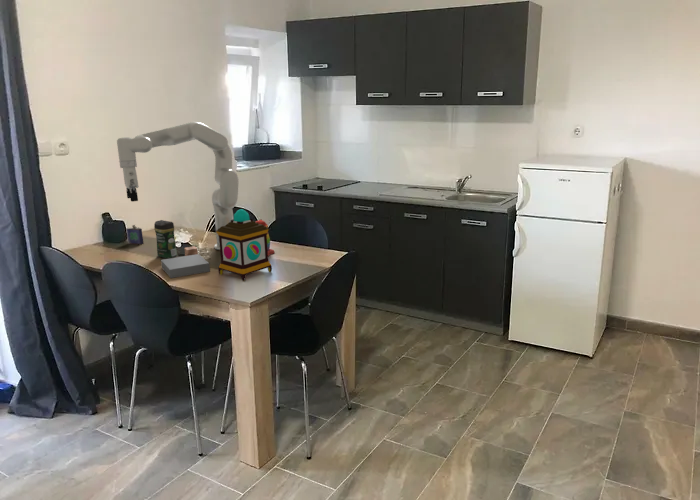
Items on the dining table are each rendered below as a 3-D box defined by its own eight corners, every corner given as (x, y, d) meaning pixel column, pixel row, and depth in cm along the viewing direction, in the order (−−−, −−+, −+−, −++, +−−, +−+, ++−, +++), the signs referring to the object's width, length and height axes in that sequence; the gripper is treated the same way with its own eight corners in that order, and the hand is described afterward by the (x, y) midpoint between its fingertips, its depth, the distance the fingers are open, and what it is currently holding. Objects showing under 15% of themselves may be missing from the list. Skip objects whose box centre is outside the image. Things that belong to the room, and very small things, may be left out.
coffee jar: (154, 256, 295) (150, 221, 290) (167, 253, 302) (163, 218, 297) (167, 259, 290) (163, 223, 285) (179, 255, 296) (176, 220, 291)
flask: (127, 244, 321) (124, 225, 318) (130, 242, 324) (128, 224, 321) (142, 244, 319) (139, 225, 316) (145, 243, 321) (142, 224, 318)
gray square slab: (199, 261, 285) (198, 254, 284) (210, 271, 270) (209, 263, 269) (161, 268, 277) (160, 259, 276) (170, 278, 262) (169, 269, 261)
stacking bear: (266, 258, 289) (264, 223, 284) (248, 256, 292) (245, 222, 288) (276, 252, 299) (274, 218, 294) (258, 250, 302) (256, 217, 297)
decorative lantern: (247, 264, 280) (243, 203, 272) (276, 271, 268) (272, 207, 259) (214, 275, 265) (208, 210, 257) (243, 283, 253) (238, 216, 245)
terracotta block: (195, 257, 293) (194, 246, 291) (198, 260, 288) (197, 248, 287) (185, 259, 290) (184, 247, 289) (188, 261, 286) (187, 250, 284)
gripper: (139, 165, 271) (144, 201, 275) (133, 161, 285) (137, 196, 290) (122, 166, 267) (127, 203, 272) (117, 162, 282) (121, 197, 286)
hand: (132, 199), depth 281 cm, fingers open, 9 cm apart
